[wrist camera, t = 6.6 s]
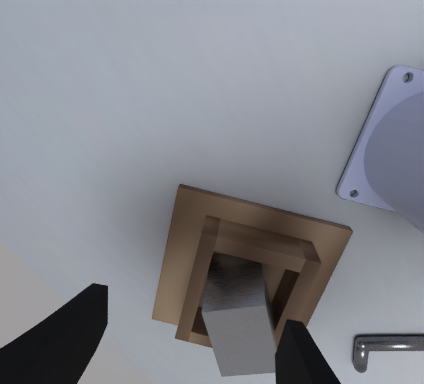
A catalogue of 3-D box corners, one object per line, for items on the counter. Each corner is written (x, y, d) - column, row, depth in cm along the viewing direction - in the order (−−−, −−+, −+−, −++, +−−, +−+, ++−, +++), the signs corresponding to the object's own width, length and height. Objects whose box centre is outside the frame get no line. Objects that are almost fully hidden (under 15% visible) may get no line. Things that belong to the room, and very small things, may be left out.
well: (349, 227, 19) (369, 252, 16) (291, 348, 24) (298, 385, 21) (180, 184, 19) (169, 201, 16) (153, 313, 24) (141, 345, 21)
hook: (463, 332, 22) (473, 343, 21) (455, 364, 23) (464, 376, 22) (353, 334, 23) (358, 344, 22) (351, 364, 24) (355, 375, 23)
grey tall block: (259, 247, 20) (265, 305, 15) (270, 303, 22) (280, 372, 16) (211, 255, 20) (201, 312, 15) (225, 308, 22) (221, 376, 17)
